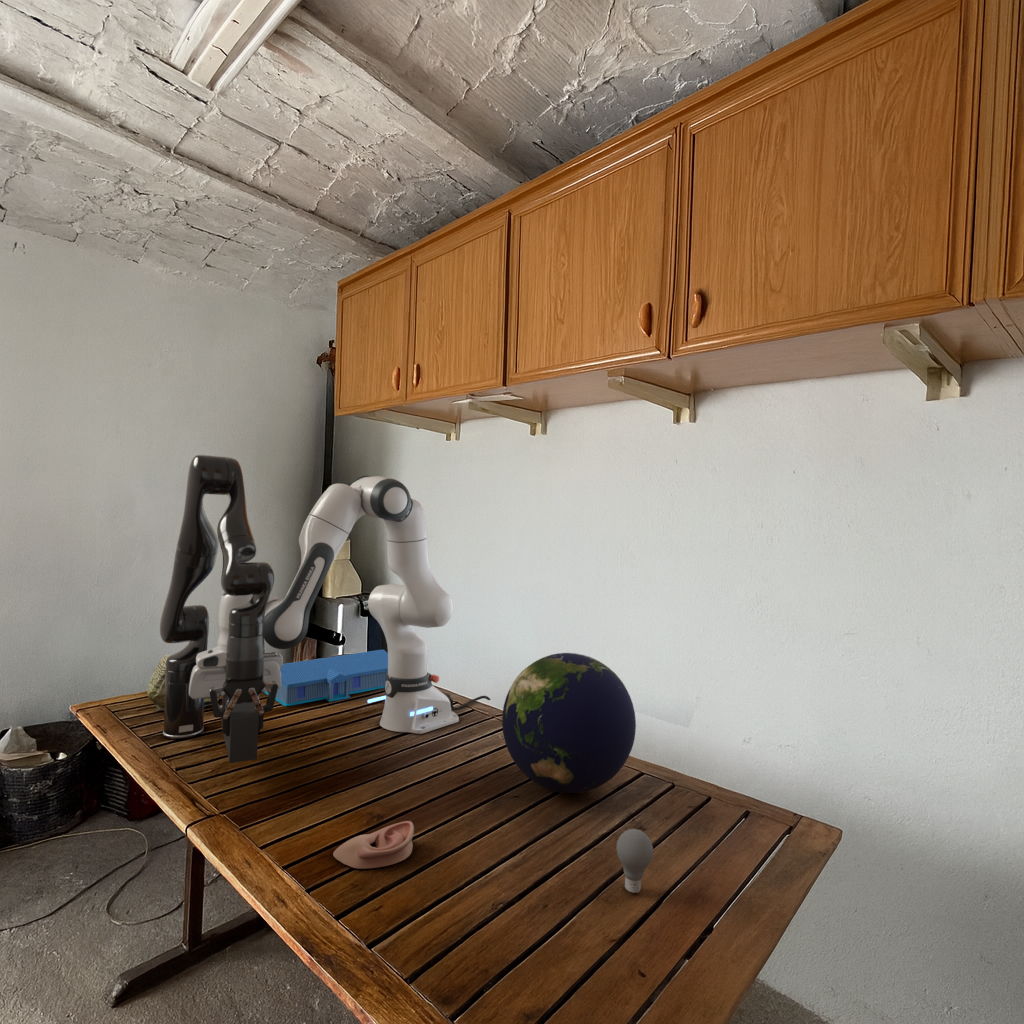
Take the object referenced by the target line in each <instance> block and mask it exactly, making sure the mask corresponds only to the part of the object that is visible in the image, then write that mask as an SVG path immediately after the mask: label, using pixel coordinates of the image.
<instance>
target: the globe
mask: <svg viewBox="0 0 1024 1024" xmlns="http://www.w3.org/2000/svg"><path fill="white" fill-rule="evenodd" d="M501 715H502V716H501V718H502V719H501V727H502V734H503V739H504V742H505V747H506V749H507V751H508V753H509V756H510V757H511V759H512V761H513V762H514V763H515V765H516V767H518V769H519V770H520V772H522V773H523V775H525V776H526V777H527V778H528V779H529V780H531V781H532V782H534V783H535V784H536V785H538V786H540V787H542V788H544V789H547V790H550V791H553V792H557V793H561V794H580V793H581V794H582V793H585V792H589V791H592V790H594V789H597V788H599V787H601V786H603V785H605V784H606V783H607V782H609V781H610V780H612V779H613V778H614V777H615V776H616V775H617V774H618V773H619V772H620V770H621V769H622V768H623V766H624V765H625V763H626V762H627V761H628V759H629V757H630V755H631V752H632V749H633V746H634V743H635V738H636V732H637V730H636V729H637V720H636V712H635V708H634V703H633V700H632V697H631V695H630V693H629V691H628V689H627V687H626V685H625V684H624V682H623V681H622V680H621V678H620V677H619V675H618V674H617V673H615V671H613V670H612V669H611V668H610V667H609V666H607V665H606V664H604V663H603V662H601V661H600V660H598V659H596V658H593V657H591V656H589V655H585V654H581V653H577V652H559V653H558V652H557V653H554V654H553V653H552V654H548V655H546V656H543V657H541V658H539V659H536V661H533V662H532V663H531V664H529V665H528V666H527V667H525V668H524V669H522V671H521V672H520V673H519V674H518V675H517V677H516V678H515V679H514V680H513V682H512V684H511V686H510V688H509V689H508V691H507V694H506V696H505V700H504V703H503V707H502V714H501Z"/></svg>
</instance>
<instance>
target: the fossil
mask: <svg viewBox="0 0 1024 1024" xmlns="http://www.w3.org/2000/svg"><path fill="white" fill-rule="evenodd" d="M171 655H172V654H165V655H164V656H163V657H162V658H161V659H160V660H159V662H158V663H157V666H156V667H155V669H154V670H153V672H152V675H151V677H150V680H149V684H148V688H147V697H148V699H149V700H150V701H152V703H153V704H154V706H155V711H158V712H159V711H162V712H163V711H164V705H165V674H166V660H167V658H168V657H169V656H171ZM207 706H212V703H211V698H210V697H208V698H204V707H207Z"/></svg>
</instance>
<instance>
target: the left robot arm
mask: <svg viewBox="0 0 1024 1024" xmlns="http://www.w3.org/2000/svg"><path fill="white" fill-rule="evenodd" d="M187 473H188V474H187V481H186V489H185V498H184V499H185V502H184V509H183V515H182V520H181V526H180V531H179V535H178V538H177V544H176V549H175V553H174V560H173V567H172V572H171V578H170V583H169V589H168V593H167V595H166V598H165V601H164V605H163V608H162V612H161V616H160V621H159V636H160V638H161V640H162V641H163V642H164V643H166V644H178V643H187V645H186V646H184V647H183V648H182V649H180V650H179V651H177V652H175V653H173V654H170V655H171V656H169V657H168V658H167V660H166V674H165V705H164V710H163V730H162V737H164V738H166V739H169V740H185V739H190V738H191V739H192V738H194V737H197V736H199V735H202V734H203V732H204V730H205V729H204V726H205V725H204V722H205V721H204V718H205V706H204V698H198V699H192V698H191V697H190V696H189V683H190V677H191V673H192V670H193V668H194V666H195V665H197V664H196V656H197V654H198V653H200V652H203V651H206V650H208V646H209V645H208V643H209V633H210V613H209V610H208V609H207V607H206V606H205V605H203V604H194V605H193V604H192V605H186V602H187V600H188V598H189V597H190V596H191V595H192V593H193V592H194V591H195V590H196V589H197V588H198V587H199V586H200V585H201V584H202V583H203V582H204V581H205V580H206V578H207V577H208V576H209V575H210V574H211V573H212V571H213V570H214V567H215V565H216V561H217V557H218V552H219V546H220V550H221V553H222V570H221V571H222V572H221V577H220V586H221V589H222V590H223V591H224V593H225V592H226V593H227V594H228V595H230V596H246V595H253V596H252V598H251V599H250V601H249V602H248V603H246V604H244V605H241V606H238V607H235V608H233V609H231V611H230V613H229V632H228V641H227V650H226V678H225V682H224V684H223V686H220V687H217V688H214V687H211V688H210V689H209V693H210V698H211V703H212V705H211V708H212V713H213V718H220V719H221V732H222V735H223V734H225V735H226V736H229V734H230V717H229V716H230V714H231V712H232V710H233V709H234V707H235V705H236V704H240V703H243V702H247V703H250V702H252V701H253V703H254V705H255V708H256V711H257V713H258V716H259V719H258V733H260V732H261V730H263V728H264V719H265V715H266V713H268V712H272V711H273V710H274V706H275V702H276V700H275V698H276V694H277V690H278V685H277V683H276V682H275V681H273V682H272V683H271V682H265V681H264V679H263V670H264V654H265V653H266V650H265V639H264V634H263V633H264V615H265V611H266V607H267V603H268V600H269V597H270V595H271V594H272V591H273V588H274V585H275V577H276V576H275V571H274V569H273V567H272V565H270V564H269V563H268V562H264V561H253V562H251V561H252V560H253V559H254V558H255V557H256V555H257V552H258V548H257V544H256V541H255V538H254V535H253V531H252V529H251V525H250V521H249V515H248V506H247V497H246V489H245V481H244V474H243V469H242V467H241V464H240V463H239V461H238V460H237V459H236V458H233V457H228V456H218V455H210V454H209V455H207V454H197V455H195V456H194V457H193V458H192V459H191V461H190V464H189V468H188V472H187ZM205 495H215V496H217V495H218V496H227V497H228V500H229V501H228V505H227V506H226V509H224V512H223V514H222V515H221V517H220V518H219V521H218V524H217V528H216V529H217V532H216V531H215V529H214V527H213V525H212V524H211V522H210V520H209V518H208V516H207V514H206V511H205V509H204V497H205ZM264 687H266V688H267V689H266V690H267V692H268V693H269V694H268V695H267V698H266V702H265V704H264V705H262V704H261V701H260V698H259V699H258V695H259V694H260V695H261V693H262V692H261V691H262V690H263V689H264ZM223 691H224V692H225V693H226V695H227V696H228V697H229V698H228V700H227V703H226V706H225V708H224V710H220V709H219V706H218V704H219V701H218V700H217V698H219V699H220V698H221V697H222V696H221V692H223Z"/></svg>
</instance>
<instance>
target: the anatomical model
mask: <svg viewBox="0 0 1024 1024" xmlns="http://www.w3.org/2000/svg"><path fill="white" fill-rule="evenodd" d="M414 833H415V826H414V823H413V822H412V821H411V820H404V821H400V822H397V823H393V824H391V825H388V826H385V827H383V828H380V829H377V830H376V831H373V832H371V833H368V834H367V833H366V834H360V835H357V836H354V837H352V838H350V839H348V840H346V841H345V842H343V843H342V844H341V845H339V846H338V847H337V848H335V850H334V851H333V852H332V853H333V854H332V856H333V857H334V858H335V860H337V861H338V862H340V863H342V864H343V865H346V866H347V867H350V868H352V869H357V870H367V869H375V868H382V867H387V866H390V865H394V864H398V863H400V862H402V861H404V860H406V859H407V858H409V857H410V856H411V854H412V851H413V847H414V845H413V841H412V840H413V837H414Z"/></svg>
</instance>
